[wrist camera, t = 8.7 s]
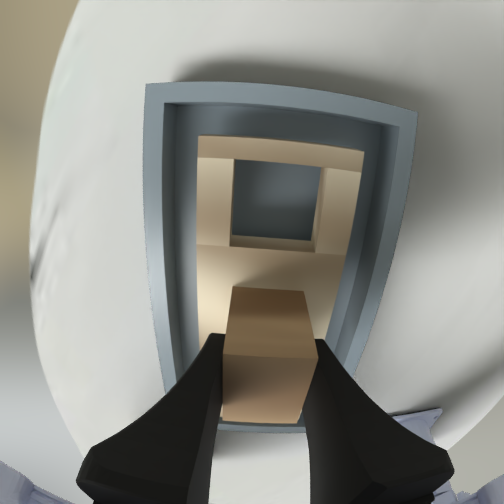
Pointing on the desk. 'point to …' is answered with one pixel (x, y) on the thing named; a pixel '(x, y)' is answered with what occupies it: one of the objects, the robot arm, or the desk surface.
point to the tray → (268, 202)
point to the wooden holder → (270, 275)
